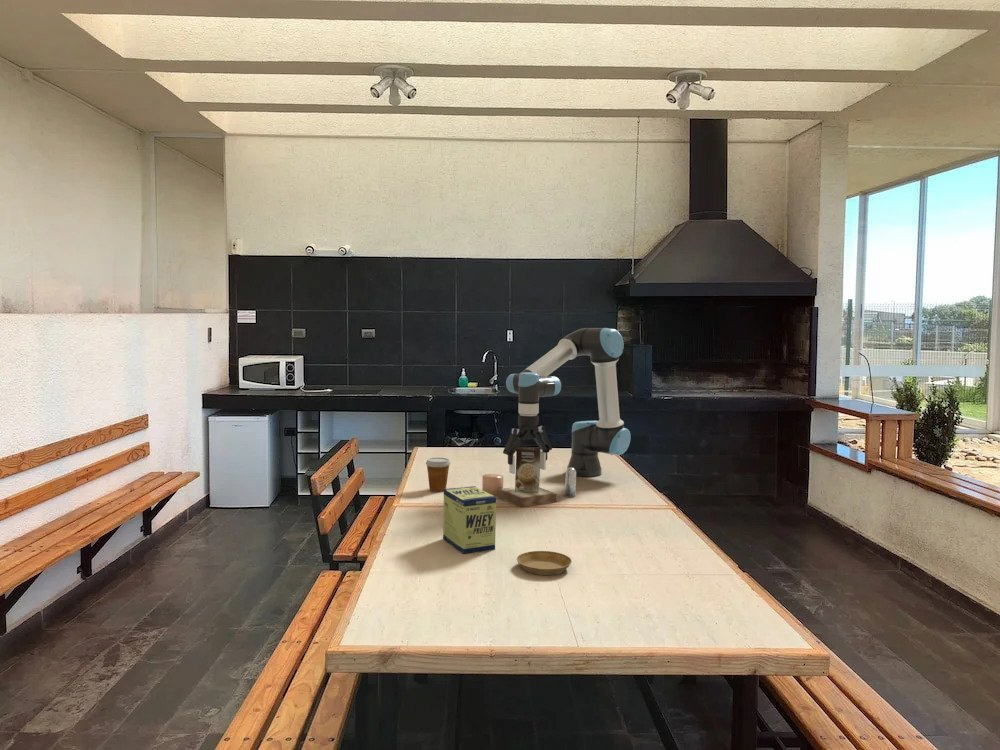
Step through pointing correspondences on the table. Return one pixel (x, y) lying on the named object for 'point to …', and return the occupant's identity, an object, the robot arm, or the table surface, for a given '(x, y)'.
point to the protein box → (469, 519)
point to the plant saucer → (544, 562)
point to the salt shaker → (570, 482)
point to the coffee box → (527, 469)
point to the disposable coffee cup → (437, 473)
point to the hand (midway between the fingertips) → (527, 471)
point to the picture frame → (526, 497)
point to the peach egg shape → (492, 483)
